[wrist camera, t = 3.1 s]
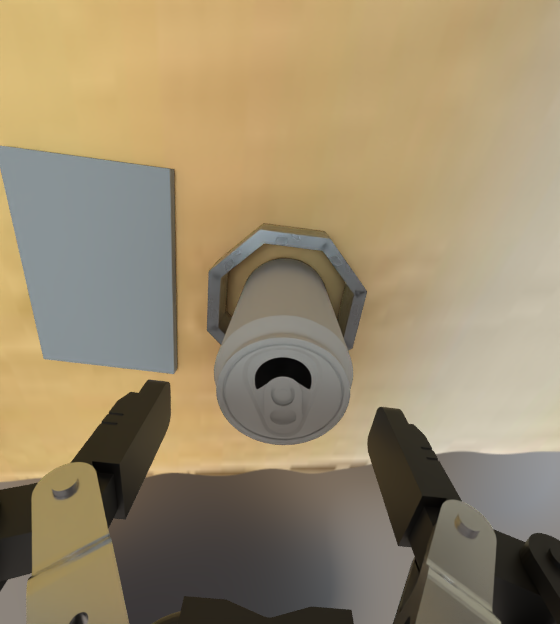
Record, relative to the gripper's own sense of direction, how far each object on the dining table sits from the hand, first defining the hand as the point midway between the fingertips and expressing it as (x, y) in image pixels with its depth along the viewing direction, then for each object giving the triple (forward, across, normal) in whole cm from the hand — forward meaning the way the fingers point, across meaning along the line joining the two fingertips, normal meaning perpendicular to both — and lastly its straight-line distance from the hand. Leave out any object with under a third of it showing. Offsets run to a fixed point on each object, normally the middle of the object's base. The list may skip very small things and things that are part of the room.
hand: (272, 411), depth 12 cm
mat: (+13, +13, 0) cm, 19 cm away
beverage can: (+13, -1, 0) cm, 13 cm away
